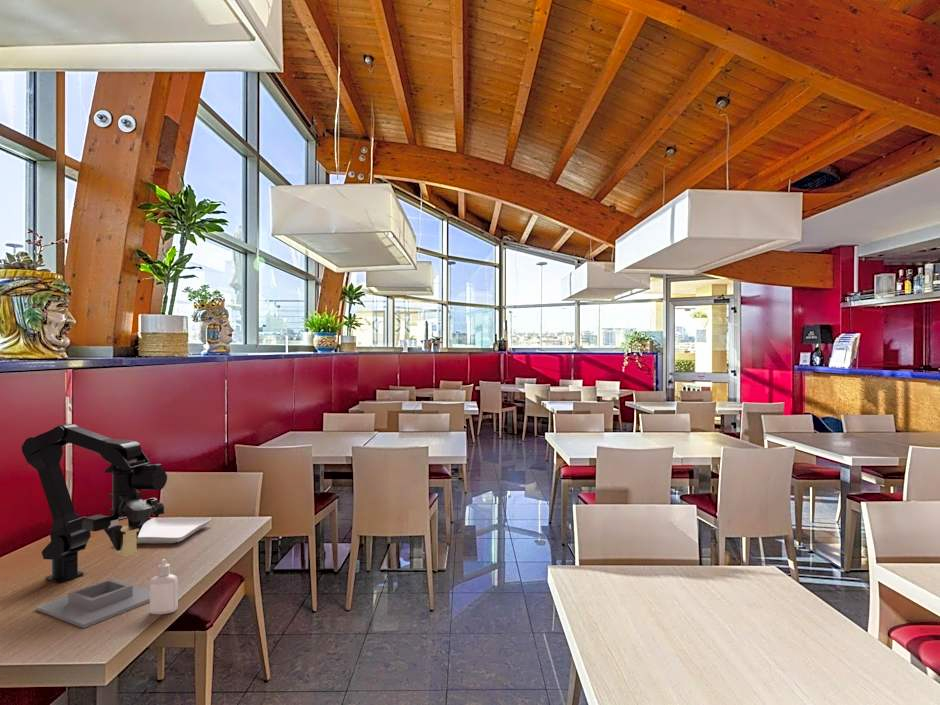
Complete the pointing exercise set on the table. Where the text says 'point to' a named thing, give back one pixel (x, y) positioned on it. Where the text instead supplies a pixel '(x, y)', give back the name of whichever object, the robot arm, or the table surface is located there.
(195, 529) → the salad plate
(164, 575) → the eye dropper bottle
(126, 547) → the wooden lipped block
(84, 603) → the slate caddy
